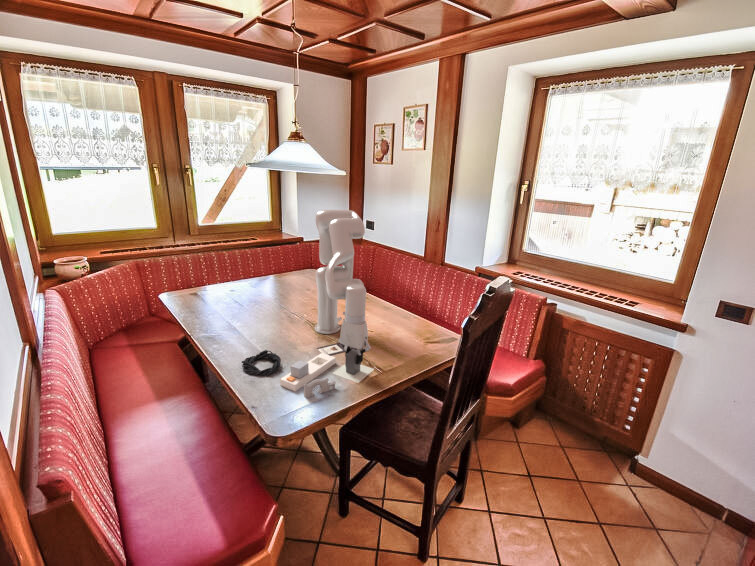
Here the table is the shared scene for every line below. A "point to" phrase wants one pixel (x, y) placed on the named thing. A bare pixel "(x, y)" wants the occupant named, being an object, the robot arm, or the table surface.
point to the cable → (271, 356)
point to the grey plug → (299, 369)
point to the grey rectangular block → (352, 362)
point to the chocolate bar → (332, 349)
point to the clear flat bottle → (316, 384)
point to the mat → (358, 376)
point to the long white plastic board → (315, 369)
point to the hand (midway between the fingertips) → (353, 360)
